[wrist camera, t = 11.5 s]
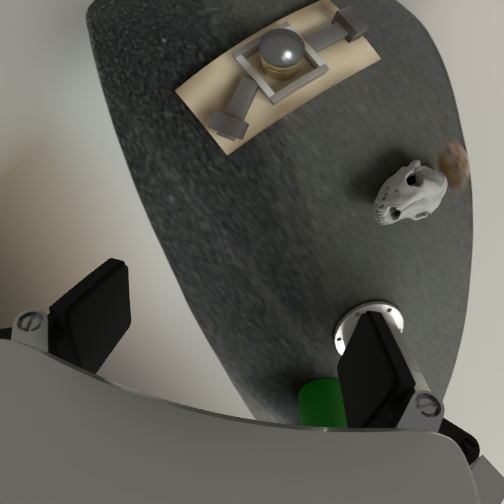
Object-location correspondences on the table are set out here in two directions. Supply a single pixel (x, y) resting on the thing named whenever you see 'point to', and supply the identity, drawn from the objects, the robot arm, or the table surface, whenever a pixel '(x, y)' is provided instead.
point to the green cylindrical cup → (322, 404)
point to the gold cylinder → (281, 53)
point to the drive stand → (271, 91)
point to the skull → (409, 194)
